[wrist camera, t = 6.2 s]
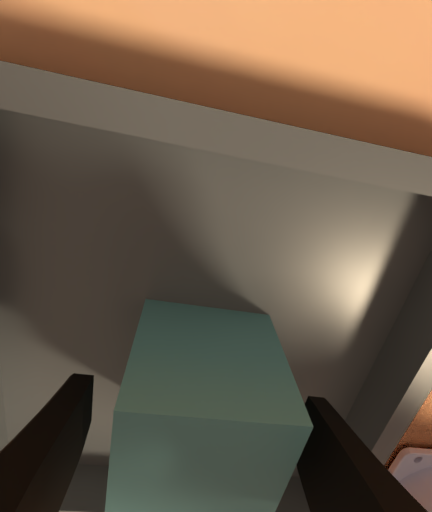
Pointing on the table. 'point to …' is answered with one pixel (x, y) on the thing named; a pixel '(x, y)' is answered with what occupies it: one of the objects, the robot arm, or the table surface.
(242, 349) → the teal block
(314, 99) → the table surface
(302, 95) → the table surface
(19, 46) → the table surface
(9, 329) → the charcoal tray
